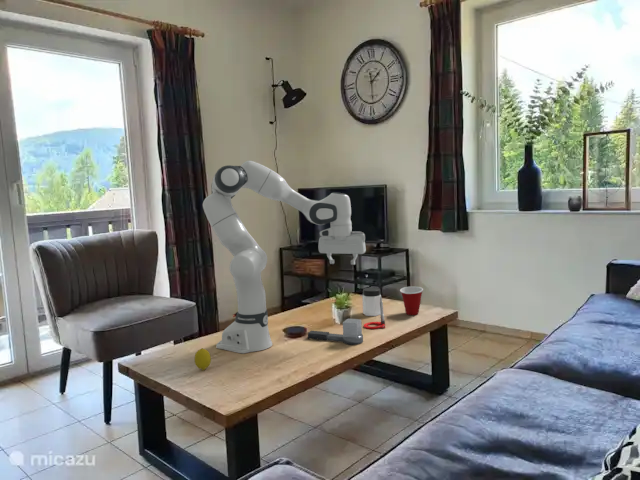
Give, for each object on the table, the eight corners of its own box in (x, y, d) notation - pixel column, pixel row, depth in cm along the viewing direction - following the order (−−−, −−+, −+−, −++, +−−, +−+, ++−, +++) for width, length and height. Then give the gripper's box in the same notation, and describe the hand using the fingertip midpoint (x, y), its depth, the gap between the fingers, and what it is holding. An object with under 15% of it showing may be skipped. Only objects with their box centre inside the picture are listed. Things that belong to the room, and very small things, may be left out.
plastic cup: (396, 315, 237) (395, 290, 235) (406, 309, 245) (406, 285, 244) (417, 318, 230) (416, 292, 229) (427, 312, 239) (427, 287, 237)
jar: (383, 315, 237) (382, 290, 235) (367, 317, 235) (366, 292, 234) (377, 310, 246) (376, 286, 244) (361, 312, 244) (360, 288, 242)
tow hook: (364, 330, 216) (385, 329, 216) (361, 301, 215) (383, 299, 214) (363, 325, 225) (384, 323, 224) (361, 296, 223) (382, 295, 223)
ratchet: (305, 340, 205) (305, 326, 204) (313, 334, 212) (313, 320, 212) (359, 345, 196) (358, 330, 195) (365, 339, 203) (365, 324, 202)
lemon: (192, 370, 177) (190, 348, 176) (206, 366, 181) (204, 344, 180) (200, 374, 173) (199, 352, 172) (214, 369, 177) (213, 347, 176)
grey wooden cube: (343, 337, 199) (342, 322, 199) (348, 332, 205) (347, 318, 204) (357, 338, 197) (356, 323, 196) (361, 334, 202) (361, 319, 201)
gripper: (367, 230, 209) (368, 263, 210) (322, 230, 217) (323, 262, 219) (362, 232, 203) (363, 266, 205) (316, 232, 211) (317, 264, 213)
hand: (342, 264), depth 212 cm, fingers open, 8 cm apart
